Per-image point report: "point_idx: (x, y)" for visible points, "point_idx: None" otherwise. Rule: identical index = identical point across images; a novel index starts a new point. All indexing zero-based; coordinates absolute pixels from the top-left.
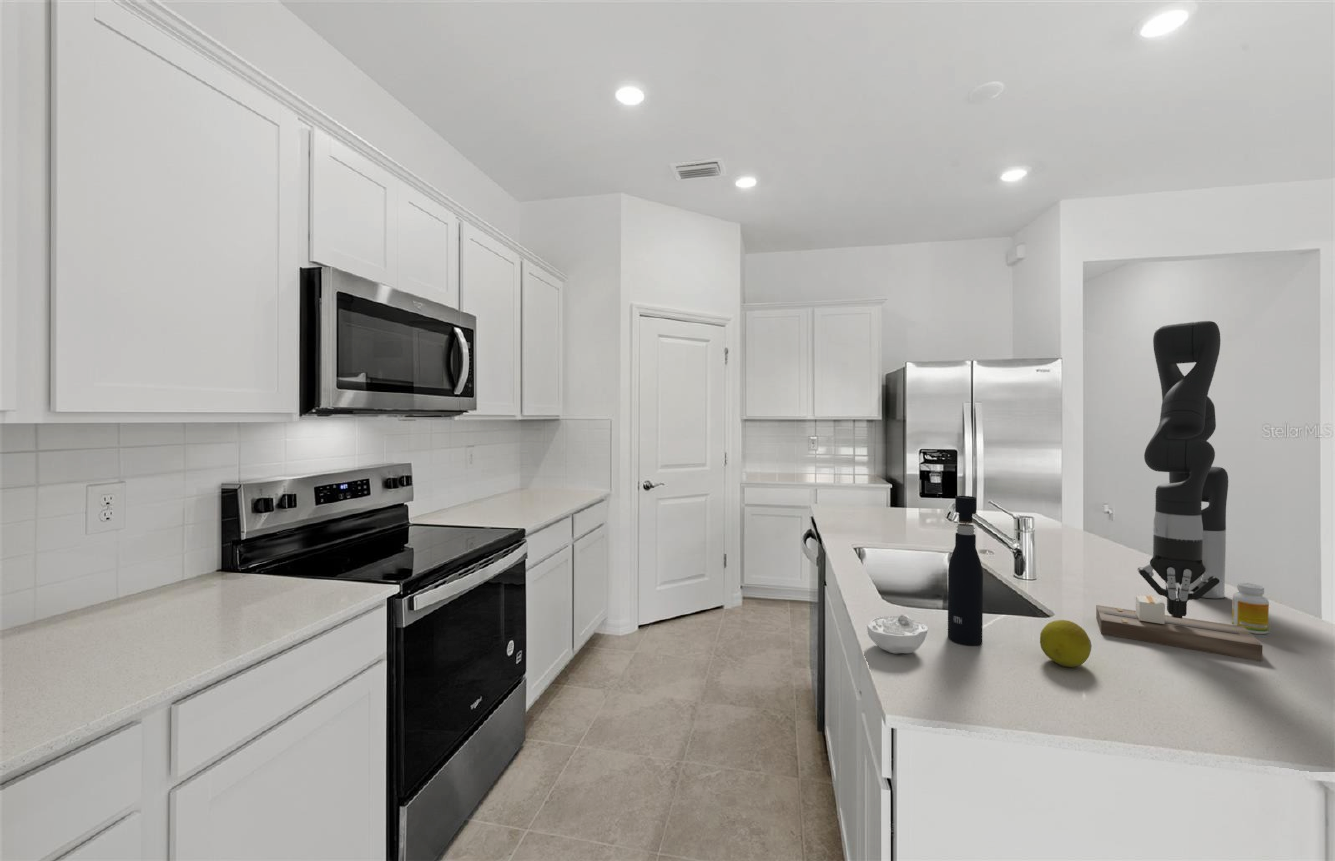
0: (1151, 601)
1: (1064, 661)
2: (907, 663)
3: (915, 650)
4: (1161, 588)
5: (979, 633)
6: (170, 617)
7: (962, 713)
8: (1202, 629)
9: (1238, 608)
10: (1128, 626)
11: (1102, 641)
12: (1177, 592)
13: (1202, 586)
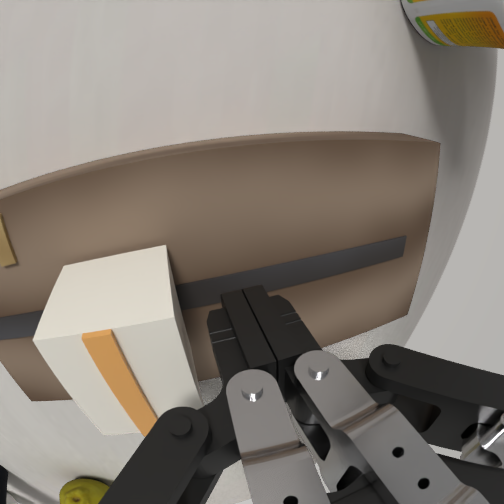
0: (148, 426)
1: None
2: (24, 500)
3: (14, 499)
4: (211, 490)
5: (6, 485)
6: None
7: None
8: (313, 287)
9: (469, 14)
10: None
11: (69, 406)
12: (305, 400)
13: (434, 443)
